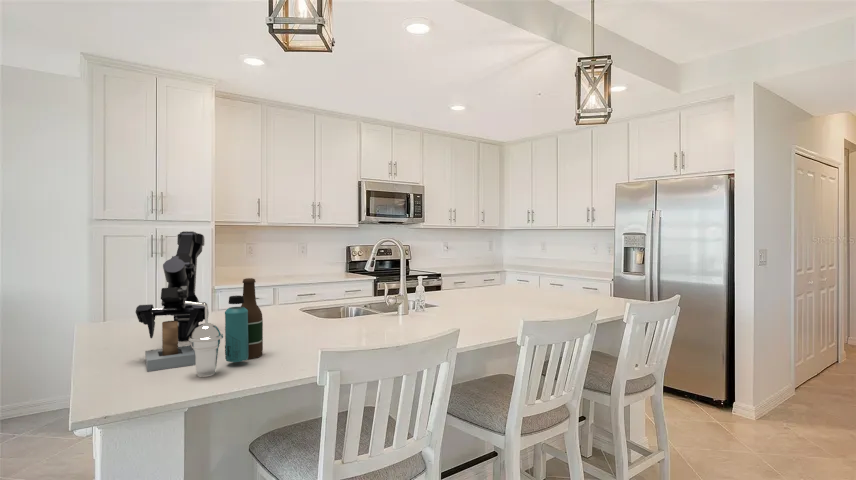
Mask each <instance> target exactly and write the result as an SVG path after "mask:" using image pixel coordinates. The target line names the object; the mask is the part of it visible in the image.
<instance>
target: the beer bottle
mask: <svg viewBox="0 0 856 480" xmlns="http://www.w3.org/2000/svg"><path fill="white" fill-rule="evenodd" d="M242 284H243V285H242V296H243V297H244V303H242V304H240V307H245V308H246V309H247V310H248V335H249V337H248V343H249V345H248V346H249V347H248V349H249V357H248V359H247V360H252V359H257V358H259V357H261V356H262V355H263V352H264V351H263V348H264V346H263V345H264V343H263V342H264V341H263V340H264V337H263V335H264V333H263V331H264V326H263V325H264V324H263V322H264V320H263V313H262V310H261V308H260V307H259V306H258V304H257V300H256V299H257V297H256V287H255V284H256V279H255V278H253V277H250V278H249V277H248V278H243V279H242Z"/></svg>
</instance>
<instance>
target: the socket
mask: <svg viewBox="0 0 856 480" xmlns="http://www.w3.org/2000/svg"><path fill="white" fill-rule="evenodd" d="M144 353H145V356H144V358H145V361H144V362H145V367H146V371H147V372H148V373H149V372H153V371H154V372H155V371H160V370H169V369H174V368H175V369H176V368H181V367H188V366H196V364H195V356H194V350H193V347H192V344H191V345H183V346H182V345H181V346H178V354H175V355H167V356H163V353H162V348H157V349H149V350H145V351H144Z"/></svg>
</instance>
